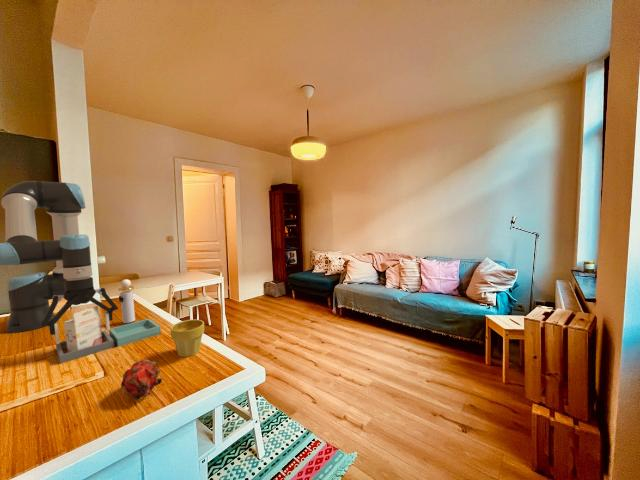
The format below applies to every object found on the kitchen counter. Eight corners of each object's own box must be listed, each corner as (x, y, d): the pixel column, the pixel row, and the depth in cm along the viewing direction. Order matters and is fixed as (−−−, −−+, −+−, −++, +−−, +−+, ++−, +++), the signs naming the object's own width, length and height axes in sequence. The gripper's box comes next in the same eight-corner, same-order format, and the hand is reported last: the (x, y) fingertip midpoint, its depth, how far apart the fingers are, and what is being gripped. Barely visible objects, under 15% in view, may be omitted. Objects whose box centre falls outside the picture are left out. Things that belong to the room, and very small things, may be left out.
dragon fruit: (145, 383, 76) (148, 413, 66) (113, 377, 71) (111, 408, 61) (163, 356, 77) (169, 382, 68) (134, 349, 72) (135, 375, 63)
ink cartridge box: (92, 342, 99) (88, 305, 98) (103, 343, 98) (99, 305, 97) (66, 354, 91) (62, 313, 90) (77, 355, 90) (73, 313, 89)
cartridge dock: (56, 350, 94) (55, 343, 94) (105, 336, 104) (105, 330, 104) (60, 363, 85) (59, 356, 85) (114, 347, 95) (113, 340, 95)
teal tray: (109, 336, 104) (108, 329, 104) (149, 325, 115) (149, 318, 115) (118, 346, 95) (117, 338, 95) (160, 333, 106) (160, 326, 106)
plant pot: (212, 348, 93) (210, 321, 92) (186, 362, 83) (184, 333, 83) (191, 342, 97) (190, 317, 96) (165, 356, 88) (163, 328, 87)
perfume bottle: (134, 319, 123) (131, 277, 121) (138, 322, 119) (135, 278, 117) (119, 323, 118) (115, 279, 117) (123, 326, 114) (119, 281, 113)
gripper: (25, 287, 81) (33, 353, 82) (124, 273, 99) (128, 327, 101) (25, 283, 86) (32, 345, 87) (119, 271, 104) (123, 322, 106)
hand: (84, 336), depth 94 cm, fingers open, 13 cm apart
